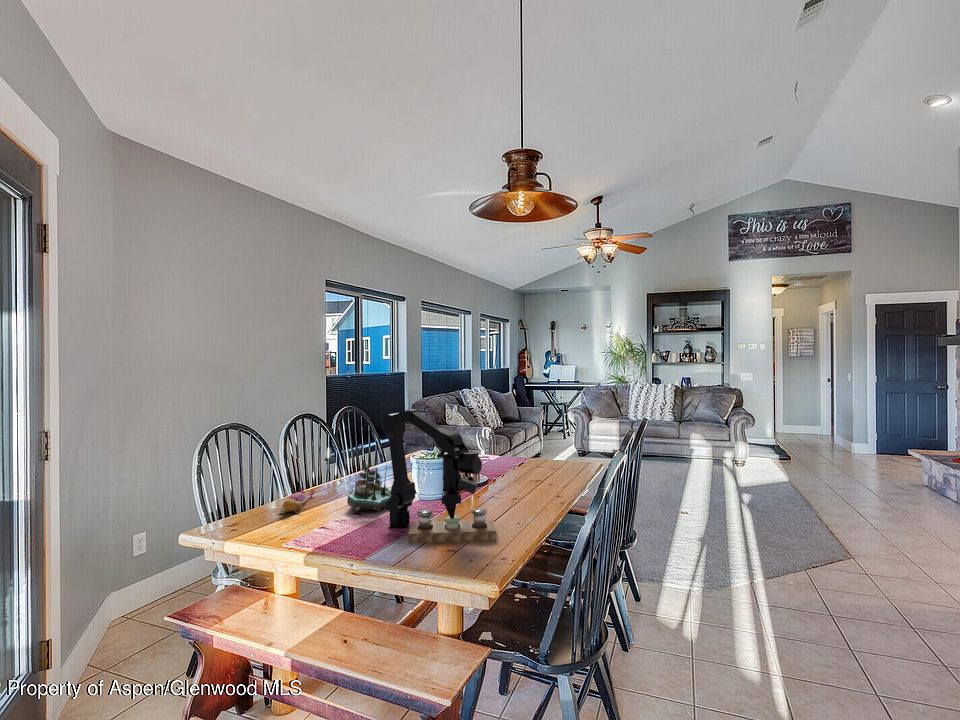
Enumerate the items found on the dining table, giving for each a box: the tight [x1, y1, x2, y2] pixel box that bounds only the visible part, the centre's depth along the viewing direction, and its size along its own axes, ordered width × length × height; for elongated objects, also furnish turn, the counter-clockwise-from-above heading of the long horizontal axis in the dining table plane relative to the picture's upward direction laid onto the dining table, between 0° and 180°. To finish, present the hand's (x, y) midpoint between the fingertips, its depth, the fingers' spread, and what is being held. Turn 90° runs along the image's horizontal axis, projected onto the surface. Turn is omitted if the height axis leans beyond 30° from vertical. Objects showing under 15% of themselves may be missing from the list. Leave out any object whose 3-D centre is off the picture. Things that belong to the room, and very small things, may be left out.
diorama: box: [346, 463, 391, 512], centre depth 213 cm, size 19×25×19 cm
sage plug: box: [444, 515, 461, 529], centre depth 176 cm, size 5×5×5 cm
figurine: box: [277, 489, 316, 516], centre depth 213 cm, size 12×7×30 cm
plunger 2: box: [471, 507, 488, 526], centre depth 176 cm, size 5×5×5 cm
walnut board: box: [407, 519, 497, 544], centre depth 176 cm, size 28×12×3 cm, turn 92°
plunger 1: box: [416, 509, 433, 528], centre depth 175 cm, size 5×5×5 cm
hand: (452, 518), depth 176 cm, fingers closed, pressing on sage plug
